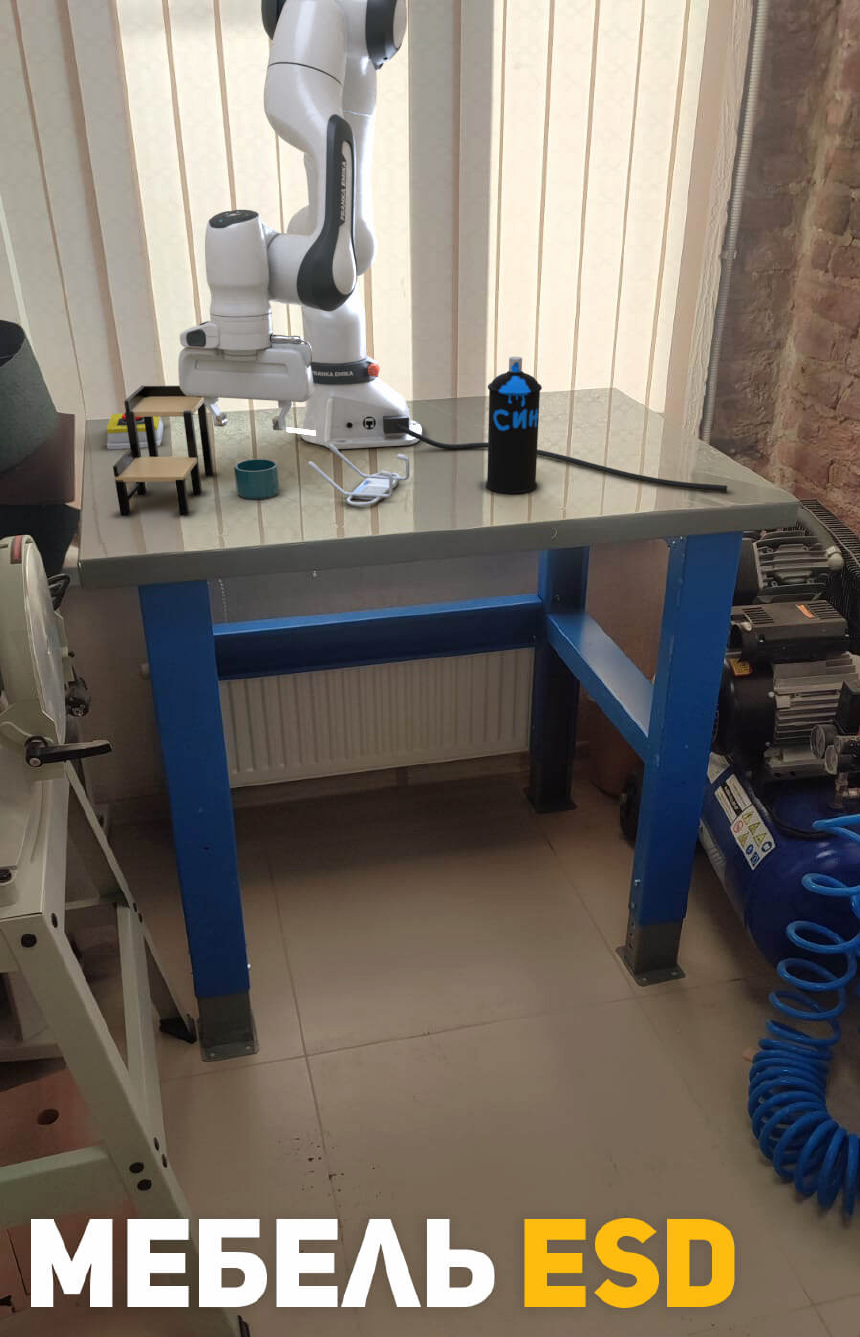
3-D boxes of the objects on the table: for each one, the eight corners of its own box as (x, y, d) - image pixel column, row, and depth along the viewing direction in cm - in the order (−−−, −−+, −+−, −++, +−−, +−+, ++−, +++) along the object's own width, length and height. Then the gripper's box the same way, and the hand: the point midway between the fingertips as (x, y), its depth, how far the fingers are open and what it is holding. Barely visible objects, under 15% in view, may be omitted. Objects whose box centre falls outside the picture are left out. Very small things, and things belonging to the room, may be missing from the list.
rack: (213, 474, 166) (203, 385, 159) (187, 515, 149) (175, 417, 142) (154, 474, 166) (141, 385, 159) (120, 516, 149) (104, 418, 142)
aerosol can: (482, 479, 163) (484, 353, 153) (532, 477, 164) (537, 352, 154) (489, 495, 156) (492, 364, 146) (541, 493, 156) (547, 363, 147)
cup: (282, 486, 160) (280, 458, 158) (276, 500, 155) (274, 471, 152) (241, 487, 160) (238, 459, 158) (233, 500, 155) (230, 471, 152)
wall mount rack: (386, 510, 150) (385, 473, 147) (302, 503, 153) (299, 466, 150) (415, 479, 163) (415, 444, 160) (337, 473, 166) (335, 438, 164)
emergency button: (102, 425, 177) (110, 404, 190) (106, 449, 179) (114, 427, 192) (156, 422, 179) (160, 402, 192) (159, 446, 181) (163, 425, 194)
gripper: (317, 332, 147) (321, 426, 153) (186, 326, 150) (196, 418, 157) (304, 340, 141) (309, 437, 148) (168, 334, 145) (179, 429, 151)
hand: (249, 427), depth 152 cm, fingers open, 8 cm apart
